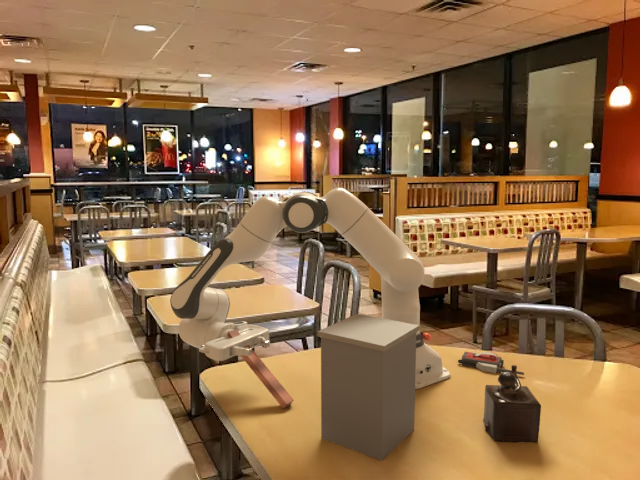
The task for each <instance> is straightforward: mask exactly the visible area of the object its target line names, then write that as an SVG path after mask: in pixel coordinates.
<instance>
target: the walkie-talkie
mask: <svg viewBox="0 0 640 480" xmlns="http://www.w3.org/2000/svg"><path fill="white" fill-rule="evenodd" d="M457 363H459V364H461V365H462V366H465V367H472V368H476V369H477V370H480V371H482V372H487V373H492V374H497V373H503V372H511V370H512V369H507V368H501V367H504V359H502V357H501V356H498V354H496V353H494V352H490V351H489V352H488V351H482V352H479V353H477V352H476V351H475V350H474V351H473V352H470V351H464V353H463V354H462V355H461V359H458V360H457ZM516 371H517V372H516V373H517V375H520V376H521V375H522V376H524V375H525V373H524V372H523V371H518V370H516Z"/></svg>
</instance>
